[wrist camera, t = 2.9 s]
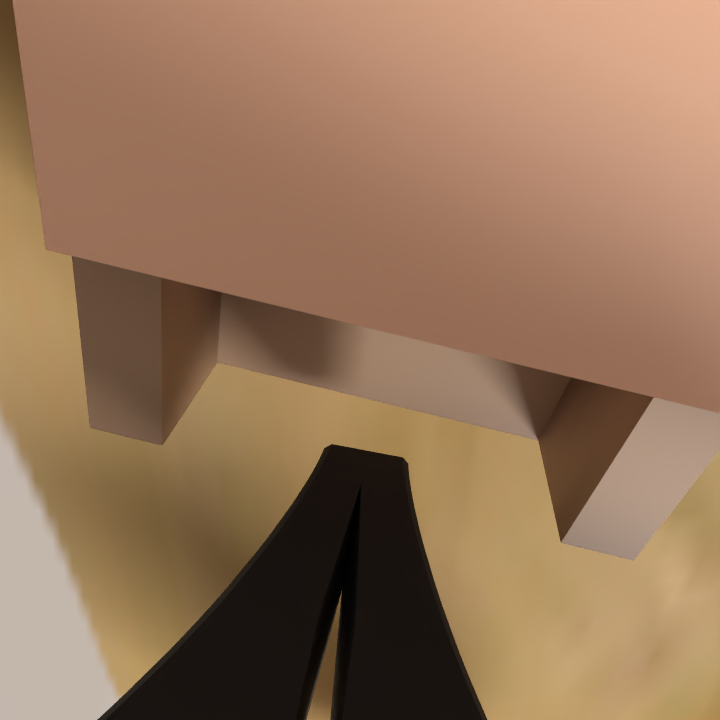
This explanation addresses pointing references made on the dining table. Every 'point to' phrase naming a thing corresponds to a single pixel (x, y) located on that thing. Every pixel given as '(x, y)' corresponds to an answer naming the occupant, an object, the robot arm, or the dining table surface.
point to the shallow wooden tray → (392, 394)
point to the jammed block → (403, 167)
